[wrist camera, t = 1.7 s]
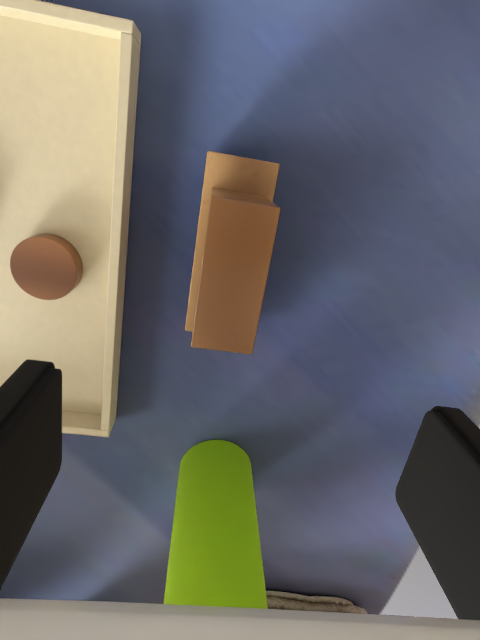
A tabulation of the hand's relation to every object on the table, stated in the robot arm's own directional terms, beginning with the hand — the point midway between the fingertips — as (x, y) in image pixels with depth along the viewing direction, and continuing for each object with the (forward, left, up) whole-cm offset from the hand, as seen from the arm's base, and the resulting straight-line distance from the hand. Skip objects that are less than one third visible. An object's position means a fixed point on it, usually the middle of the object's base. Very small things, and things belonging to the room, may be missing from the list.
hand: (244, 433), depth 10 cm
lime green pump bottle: (+18, +2, -18) cm, 25 cm away
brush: (-1, 0, -18) cm, 18 cm away
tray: (+1, -14, -18) cm, 23 cm away
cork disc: (+2, -11, -18) cm, 21 cm away
